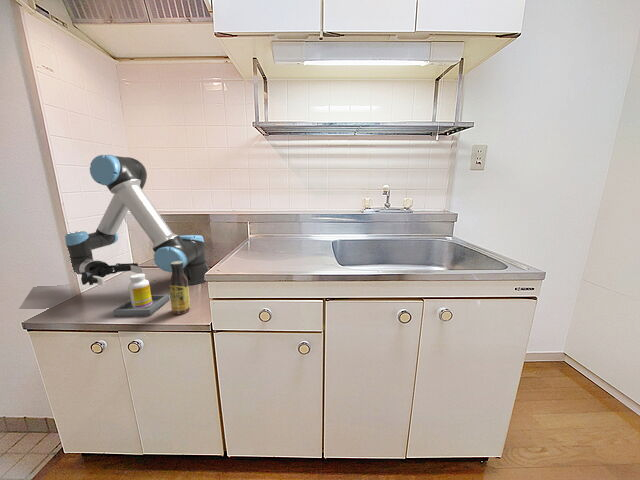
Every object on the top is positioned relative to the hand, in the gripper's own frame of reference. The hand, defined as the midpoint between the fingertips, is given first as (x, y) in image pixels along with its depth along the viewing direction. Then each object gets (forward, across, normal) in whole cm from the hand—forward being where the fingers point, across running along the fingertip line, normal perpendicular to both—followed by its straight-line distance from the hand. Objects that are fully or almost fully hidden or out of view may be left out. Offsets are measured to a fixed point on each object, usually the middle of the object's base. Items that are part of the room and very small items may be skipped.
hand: (123, 275), depth 102 cm
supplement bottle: (+10, 0, -12) cm, 15 cm away
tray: (+10, 0, -12) cm, 16 cm away
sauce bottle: (+26, -4, -13) cm, 30 cm away
